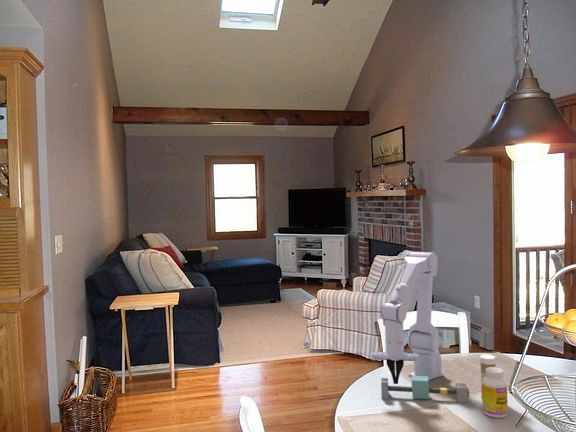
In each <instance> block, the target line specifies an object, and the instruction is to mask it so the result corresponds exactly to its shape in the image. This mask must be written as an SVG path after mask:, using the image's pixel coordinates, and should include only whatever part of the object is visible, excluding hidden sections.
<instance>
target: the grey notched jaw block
mask: <svg viewBox="0 0 576 432" xmlns="http://www.w3.org/2000/svg"><path fill="white" fill-rule="evenodd" d="M380 383H381V384H380V387H381V390H380V391H381V399H382V400H388V399H389V393H390V391H388V386H389V377H381V381H380Z"/></svg>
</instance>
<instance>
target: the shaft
mask: <svg viewBox="0 0 576 432" xmlns="http://www.w3.org/2000/svg"><path fill="white" fill-rule="evenodd" d="M388 392H400V393H401V392H405V393H412V386H403V385H402V386H399V385H388ZM429 394H438V395H439V394H440V395H456V394H457V390H456V388H447V387H429Z"/></svg>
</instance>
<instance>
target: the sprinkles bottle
mask: <svg viewBox="0 0 576 432" xmlns="http://www.w3.org/2000/svg"><path fill="white" fill-rule="evenodd" d="M479 362H480V390H481V392H482V379H483V378H484V377H485V376H486V373H485V369H486V368H488V367H496V364H497V357H496V356H495V355H492V354H487V353H486V354H481V355H480V356H479ZM481 399H482V395H481Z"/></svg>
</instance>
